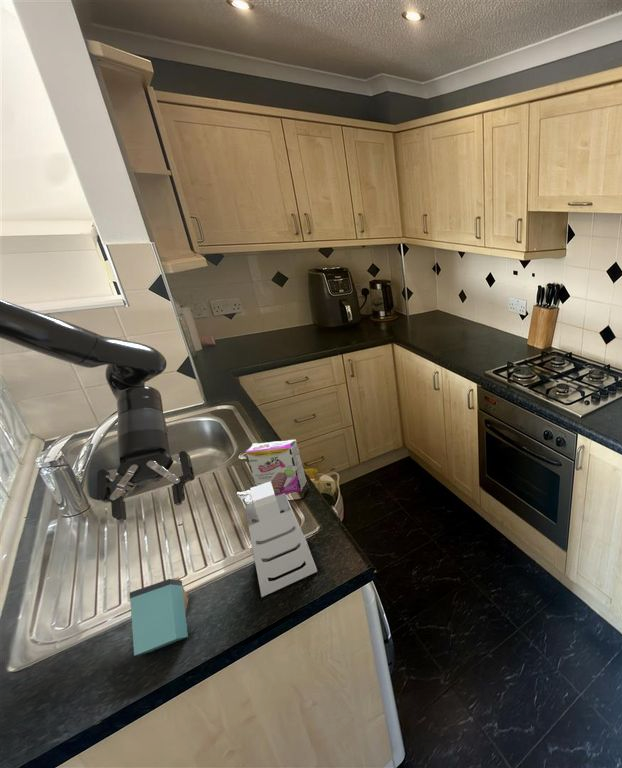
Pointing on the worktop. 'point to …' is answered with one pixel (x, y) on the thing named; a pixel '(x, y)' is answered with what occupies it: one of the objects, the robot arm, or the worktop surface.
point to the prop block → (184, 596)
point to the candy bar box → (277, 465)
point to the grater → (276, 540)
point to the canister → (157, 616)
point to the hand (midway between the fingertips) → (150, 511)
